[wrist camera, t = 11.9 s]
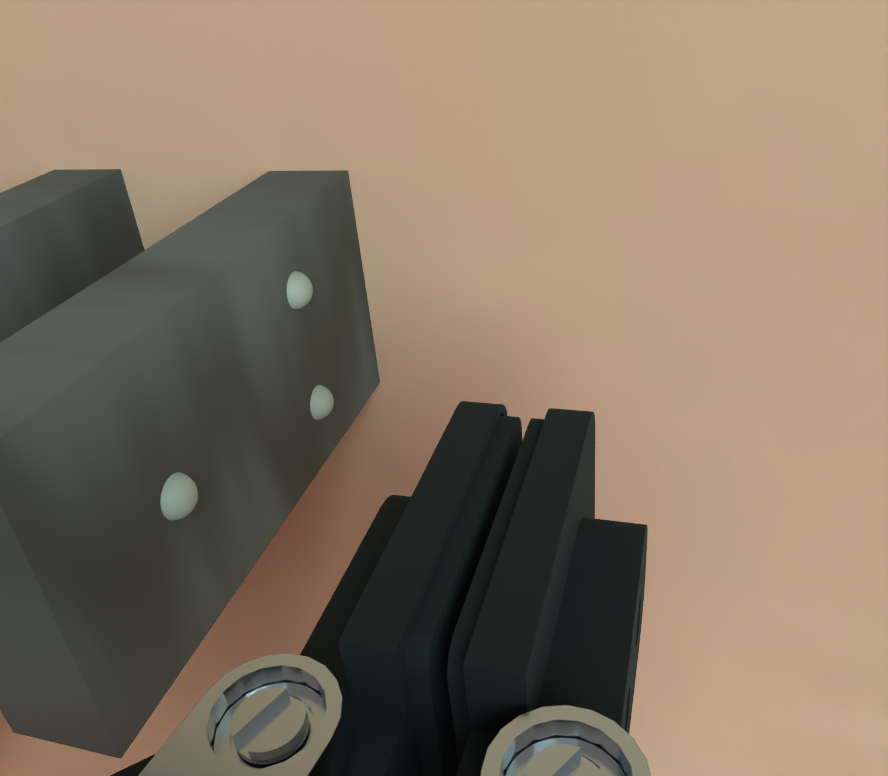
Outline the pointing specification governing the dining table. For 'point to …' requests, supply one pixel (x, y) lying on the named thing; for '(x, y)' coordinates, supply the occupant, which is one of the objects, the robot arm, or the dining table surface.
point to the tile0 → (169, 447)
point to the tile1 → (60, 240)
